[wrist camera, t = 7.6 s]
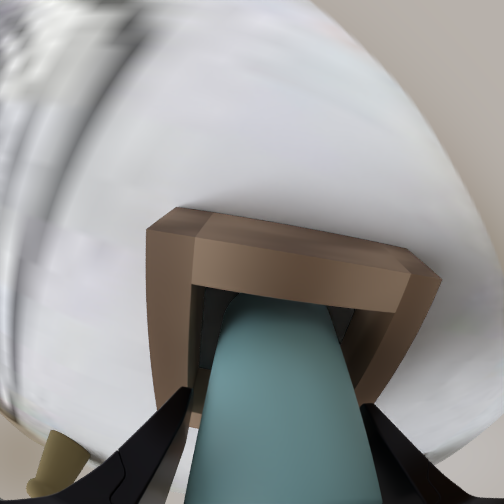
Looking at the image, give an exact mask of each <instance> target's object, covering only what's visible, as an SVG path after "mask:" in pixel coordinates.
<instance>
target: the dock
mask: <svg viewBox="0 0 504 504" xmlns="http://www.w3.org/2000/svg"><path fill="white" fill-rule="evenodd" d="M441 281H442V279H441V278H440V277H439V276H438V275H437V274H436V273H435V272H434V271H432V270H431V269H430V268H429V267H428V266H427V265H426V264H424V263H423V262H422V261H421V260H420V259H418V258H417V257H416V256H415V255H414V254H413V253H411V252H410V251H409V250H408V249H406V248H401V247H397V246H392V245H388V244H383V243H378V242H373V241H369V240H364V239H359V238H354V237H349V236H344V235H339V234H334V233H329V232H324V231H318V230H313V229H308V228H302V227H297V226H291V225H286V224H280V223H274V222H269V221H263V220H257V219H251V218H245V217H239V216H233V215H226V214H220V213H214V212H207V211H200V210H194V209H187V208H180V207H176V208H174V209H173V210H171V211H170V212H169V213H167V214H166V215H165V216H163V217H162V218H161V219H159V220H158V221H157V222H155V223H154V224H153V225H151V226H150V227H149V228H147V229H146V302H147V322H148V337H149V349H150V359H151V369H152V377H153V385H154V393H155V400H156V406H157V411H158V410H159V409H160V407H161V406H162V405H163V404H164V403H165V402H166V401H167V400H168V399H169V398H170V397H171V396H172V395H173V394H174V393H175V392H176V391H177V390H178V389H179V388H180V387H182V386H184V387H189V388H192V389H193V390H194V397H193V409H192V414H191V419H190V424H189V427H192V428H197V429H199V426H200V421H201V416H202V412H203V407H204V402H205V398H206V393H207V388H208V384H209V379H210V375H211V370H208V369H203V368H199V360H200V345H201V331H202V318H203V306H204V295H205V287H211V288H217V289H222V290H228V291H234V292H240V293H246V294H252V295H259V296H265V297H272V298H278V299H285V300H292V301H299V302H306V303H314V304H321V305H329V306H337V307H345V308H354V309H355V312H354V314H353V317H352V319H351V322H350V324H349V327H348V329H347V331H346V334H345V336H344V338H343V341H342V343H341V345H340V347H341V350H342V353H343V356H344V359H345V363H346V366H347V369H348V372H349V375H350V379H351V382H352V385H353V388H354V392H355V395H356V399H357V402H358V405H359V407H360V406H361V405H362V404H363V403H373V404H374V403H375V401H376V400H377V398H378V397H379V396H380V394H381V393H382V391H383V390H384V388H385V387H386V385H387V384H388V382H389V381H390V379H391V378H392V376H393V374H394V373H395V371H396V370H397V368H398V366H399V365H400V363H401V361H402V360H403V358H404V356H405V355H406V353H407V351H408V349H409V348H410V346H411V344H412V342H413V340H414V338H415V337H416V335H417V333H418V331H419V329H420V327H421V325H422V323H423V321H424V319H425V317H426V315H427V313H428V311H429V309H430V306H431V304H432V302H433V300H434V298H435V295H436V293H437V291H438V288H439V286H440V284H441Z"/></svg>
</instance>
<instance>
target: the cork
mask: <svg viewBox="0 0 504 504" xmlns="http://www.w3.org/2000/svg"><path fill="white" fill-rule="evenodd" d="M89 458H90V454H89V453H88V452H87V451H86V450H85V449H84V448H83V447H82V446H80V445H79V444H78V443H76V442H75V441H73V440H72V439H70V438H69V437H67V436H65V435H63V434H61V433H60V432H57V431H55V430H51V431H50V434H49V436H48V439H47V442H46V445H45V448H44V451H43V454H42V457H41V460H40V464H39V467H38V471H37V474H36V477H35V478H33V479H30V480H29V482H28V483H27V488H26V489H27V493H28V494H29V496H30V497H31V498H36V497H43V496H48V495H52V494H55V493H57V492H60V491H62V490H63V489H65V488H67V487H68V486H70V485H72V484H73V483H74V481H75V479H76V478H77V476H78V475H79V474H80V472H81V470H82V469H83V467H84V466H85V464H86V463H87V461H88V460H89Z"/></svg>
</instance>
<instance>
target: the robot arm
mask: <svg viewBox="0 0 504 504" xmlns="http://www.w3.org/2000/svg"><path fill="white" fill-rule="evenodd" d="M193 397H194V390H193V389H192V388H189V387H184V386H182V387H180V388H179V389H178V390H177V391H176V392H175V393H174V394H173V395H172V396H171V397H170V398H169V399H168V400H167V401H166V402H165V403H164V404H163V405H162V406H161V407H160V409H159V410H158V411H157V412H156V413H155V414H154V415H153V416H152V417H151V418H150V419H149V420H148V421H147V422H146V423H145V424H144V425H143V426H142V427H140V428H139V429H138V430H137V431H136V432H135V433H134V434H133V435H132V436H131V437H130V438H129V439H128V440H127V441H126V442H125V443H124V444H123V445H122V446H121V447H120V448H119V449H118V450H119V451H118V450H117V451H116V452H114V453H113V454H112V455H111V456H110V457H109V458H108V459H107V460H106V461H104V462H103V463H102V464H101V465H100V466H98V467H97V468H96V469H94V470H93V471H92V472H90V473H89V474H87V475H86V476H84V477H83V478H81V479H80V480H78V481H77V482H75V483H73V484H72V485H70V486H68V487H67V488H65V489H63V490H62V491H60V492H57V493H55V494H52V495H48V496H43V497H36V498H28V499H19V500H3V499H1V498H0V504H165V502H166V499H167V496H168V493H169V490H170V487H171V484H172V482H173V479H174V476H175V473H176V470H177V467H178V464H179V461H180V459H181V456H182V453H183V450H184V447H185V443H186V439H187V434H188V429H189V424H190V419H191V414H192V409H193ZM359 409H360V412H361V416H362V420H363V423H364V427H365V431H366V434H367V438H368V442H369V446H370V450H371V454H372V458H373V462H374V466H375V470H376V474H377V479H378V483H379V488H380V492H381V497H382V502H383V503H382V504H504V498H480V497H475V496H472V495H469V494H468V493H466V492H465V491H464V490H462V489H461V488H460V487H459V486H457V485H456V484H455V483H453V482H452V481H451V480H450V479H448V478H447V477H446V476H445V475H444V474H442V473H441V472H440V471H439V470H438V469H437V468H436V467H435V466H434V465H433V464H432V463H431V462H430V461H429V460H428V459H427V458H426V457H425V455H423V454H422V453H421V452H420V451H419V450H418V449H417V448H416V447H415V446H414V445H413V444H412V443H411V442H410V441H409V440H408V439H407V437H406V436H405V435H404V434H403V433H402V432H401V431H400V430H399V429H398V428H397V427H396V426H395V425H394V424H393V423H392V422H391V421H390V420H389V419H388V418H387V417H386V416H385V415H384V414H383V413H382V412H381V410H380V409H379V408H378V407H377V406H376V405H375V404H373V403H363V404H362V405H361V406H360V407H359Z"/></svg>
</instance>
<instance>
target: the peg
mask: <svg viewBox="0 0 504 504" xmlns="http://www.w3.org/2000/svg"><path fill="white" fill-rule="evenodd" d="M382 503H383V502H382V497H381V492H380V488H379V483H378V479H377V474H376V470H375V466H374V462H373V458H372V454H371V450H370V446H369V442H368V438H367V434H366V431H365V427H364V423H363V420H362V416H361V412H360V409H359V405H358V402H357V399H356V395H355V392H354V388H353V385H352V382H351V379H350V375H349V372H348V369H347V366H346V363H345V359H344V356H343V353H342V350H341V347H340V344H339V341H338V338H337V335H336V332H335V329H334V326H333V323H332V320H331V318H330V315H329V312H328V309H327V307H326V305H321V304H314V303H306V302H299V301H292V300H285V299H278V298H272V297H265V296H259V295H252V294H246V293H240V294H238V295H237V296H236V297H235V298H234V299H233V300H232V301H231V303H230V304H229V305H228V307H227V309H226V311H225V313H224V316H223V321H222V325H221V330H220V334H219V339H218V343H217V347H216V352H215V356H214V361H213V365H212V370H211V375H210V379H209V384H208V388H207V393H206V398H205V402H204V407H203V412H202V416H201V421H200V426H199V430H198V435H197V440H196V445H195V450H194V455H193V459H192V464H191V469H190V474H189V479H188V484H187V489H186V494H185V500H184V504H382Z"/></svg>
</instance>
